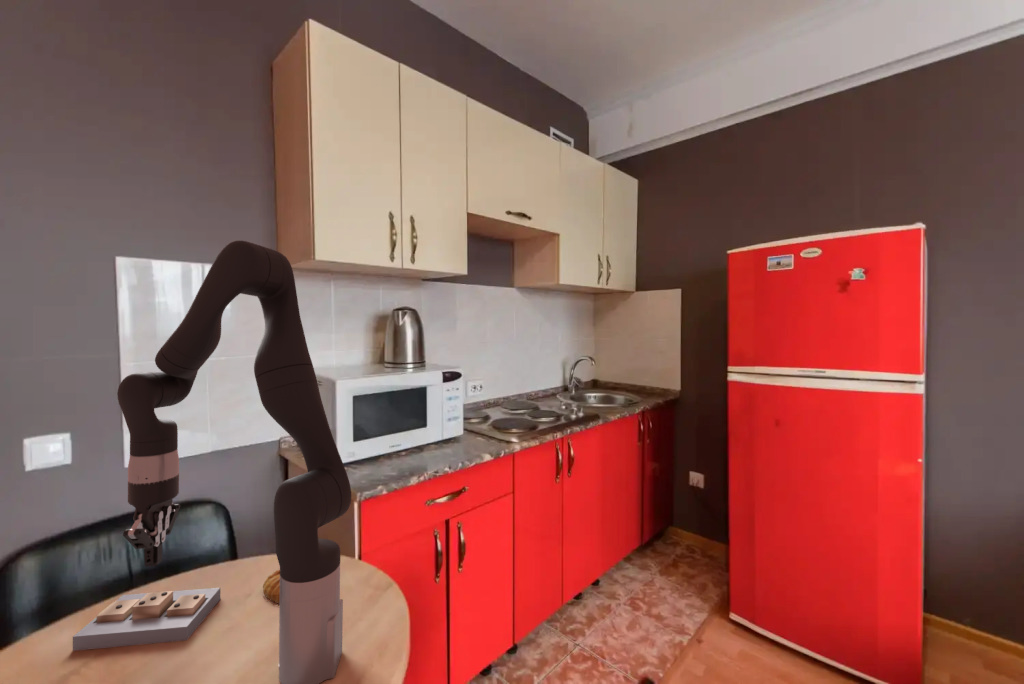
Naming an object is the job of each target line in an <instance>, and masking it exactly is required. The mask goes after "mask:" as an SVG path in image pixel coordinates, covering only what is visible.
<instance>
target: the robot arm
mask: <svg viewBox="0 0 1024 684" xmlns="http://www.w3.org/2000/svg"><path fill="white" fill-rule="evenodd" d="M290 262H291V261H289V259H288V258H287V257H286V256H285V254H283V253H281V252H280V251H278V250H275V249H272V248H269V247H266V246H262V245H260V244H257V243H253V242H250V241H247V240H235V241H231V242H230V243H228V244H226V245H225V246H224V247H223V248H222V250H220V251H219V253H218V254H217V256H216V257H215V259H214V261H213V263H212V264H211V266H210V267H209V270H208V272H207V274H206V276H205V278H204V279H203V281H202V282H201V285H200V287H199V289H198V291H197V293H196V295H195V297H194V300H193V301H192V303H191V305H190V307H189V309H188V310H187V312H186V314H185V316H184V318H183V319H182V320H181V322H180V323H179V325H178V326H177V327H176V329H175V330H174V331H173V333H172V334H171V335H170V336H169V337H168V338H167V340H166V341H165V343H164V344H163V345H162V346H161V347H160V348H159V350H158V352H157V353H156V355H155V356H154V357H155V358H154V362H155V365H156V367H157V368H158V369H159V370H158V371H147V372H135V373H131V374H128V375H126V377H124V378H123V379H122V381H120V383H119V385H118V388H117V391H116V393H117V394H116V396H117V400H118V405H119V407H120V410H121V412H122V415H123V417H124V421H125V424H126V427H127V428H128V432H129V459H128V466H127V503H128V505H130V506H132V507H134V509H135V511H134V514H133V522H134V523H133V524H132V525H131V528H127V529H125V530H124V531H123V533H122V537H124V538H125V540H127V541H128V543H130V544H131V546H132V547H133V548H134V549H135V550H139V549H142V550H143V551H144V554H143V555H144V561H143V562H144V566H145V567H155V566H158V565H159V564H160V563H161V562H162V561H163V543H164V542H165V541H166V536H169V535H170V534H171V532H172V531H173V528H174V525H175V522H176V520H177V517H178V515H179V511H180V508H181V503H173V502H174V501H173V500H174V499H175V498H176V497H177V496H178V495H179V494H180V493H179V491H180V457H179V456H180V455H179V452H178V451H179V450H178V448H179V447H178V445H179V443H178V441H179V440H178V439H179V438H178V436H179V433H178V430H179V429H178V423H176V421H175V420H172V419H168V418H166V419H165V418H164V419H163V418H158V416H157V415H156V412H155V409H158V408H165V407H171V406H175V405H178V404H179V403H181V402H183V401H184V400H185V399H186V398H187V397H188V395H189V394H190V393H191V391H192V387H193V386H194V384H195V380H196V378H197V375H198V371H199V370H201V369H200V368H201V367H203V365H204V364H205V363H206V361H208V360H209V358H210V357H211V356H212V354H213V353H214V352H215V351H216V349H217V348H218V346H219V343H220V340H221V336H222V318H223V314H224V311H225V310H226V308H227V306H229V304H230V303H231V302H232V301H233V300H234V299H235V298H236V297H238V296H239V295H240V294H241V295H247V296H253V297H257V299H258V301H259V303H260V306H261V309H262V310H261V311H262V315H263V319H264V331H263V335H262V339H261V341H260V344H259V347H258V349H257V352H256V356H255V359H254V363H253V364H254V365H253V372H254V379H255V382H256V386H257V391H258V395H259V397H260V401H261V404H262V406H263V408H264V409H265V410H266V412H267V413H268V415H270V417H271V418H272V419H273V420H274V421H275V422H276V424H278V425H279V426H280V427H281V428H282V429H283V430H285V432H286V433H287V434H288V435H289V436H290V437H291V438H292V439H293V440H294V441H295V443H296V444H297V446H298V447H299V449H300V451H301V454H302V457H303V460H304V462H305V467H306V470H307V472H305V473H302V474H299V475H296V476H293V477H290V478H288V479H286V480H284V481H282V482H281V483H280V484H279V486H278V487H277V490H276V492H275V495H274V501H273V521H274V522H273V525H274V542H275V543H274V546H275V554H276V559H277V562H278V565H279V570H280V604H278V605H279V609H278V610H279V618H278V619H279V621H278V623H279V627H278V631H279V632H278V679H279V682H280V684H320V683H322V682H324V681H326V680H329V679H334V678H335V677H336V673H337V669H338V666H339V663H340V661H341V656H342V653H343V621H344V620H343V619H344V617H343V614H344V613H343V612H344V610H343V609H344V605H343V604H344V602H343V601H344V600H343V599H341V547H340V545H339V544H338V543H337V542H336V541H334V540H332V539H328V538H327V539H326V538H319V531H318V530H319V528H321V527H323V526H325V525H327V524H328V523H330V522H334V521H335V520H336V519H339V518H340V517H342V516H344V515H345V514H346V513H347V512H348V510H349V509H350V506H351V503H352V489H351V483H350V479H349V476H348V473H347V470H346V468H345V465H344V463H343V460H342V458H341V455H340V452H339V450H338V447H337V444H336V442H335V439H334V437H333V433H332V431H331V427H330V424H329V422H328V418H327V414H326V410H325V407H324V405H323V404H324V403H323V400H322V396H321V392H320V388H319V383H318V379H317V376H316V372H315V368H314V365H313V362H312V361H313V360H312V359H311V355H310V351H309V347H308V344H307V343H308V342H307V341H306V340H307V339H306V335H305V330H304V327H303V323H302V319H301V313H300V308H299V301H298V292H297V287H296V280H295V275H294V270H293V268H292V264H291V263H290Z"/></svg>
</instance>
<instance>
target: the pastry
mask: <svg viewBox="0 0 1024 684" xmlns="http://www.w3.org/2000/svg"><path fill="white" fill-rule="evenodd" d="M262 590H263V591H262V593H263V595H264V596H265V598H266V599H268V600H269V599H270V601H272V602H274V603H276V604H278V605H280V569H279V570H278V569H277V570H275V571H273V573H272V574H271V575H269V576H268V577H267V578H266V579H265V580H264V583H263V585H262Z"/></svg>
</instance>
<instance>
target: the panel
mask: <svg viewBox="0 0 1024 684" xmlns="http://www.w3.org/2000/svg"><path fill="white" fill-rule="evenodd" d="M172 591H173V603H174V602H175V601H176V600H177V599H178V598H179V597H180V596H184V595H197V594H205V603H204V604H203V605H202V606H201V607H200V608H199V609H198V611H197V612H196V613H195V614H194V615H185V616H173V617H167V610H166V611H165V612H164V613H163V614H162V615H161V616H160V617H159V618H149V619H137V620H132V614H131V615H130V616H129V617H128V618H127V619H126V620H125V621H114V622H102V623H97V616H96V617H95V618H94V619H92V620H91V621H90V622H89V623H88V624H86V625H85V626H84V627H83V628H81V629H80V630H79V631H78V632H76V634H74V635H73V636H72V651H85V650H96V649H104V648H105V649H106V648H115V647H116V648H117V647H128V646H140V645H148V644H149V645H150V644H159V643H160V644H161V643H168V642H169V643H170V642H182V641H188V640H189V638H190V637H191V635H192V634H194V632H195V631H196V630H197V628H198V627H199V626H200V625H201V624H202V622H203V621H204V620H205V618H206V617H207V616H208V615H209V614H210V612H212V610H213V609H214V608H215V607H216V605H217V604H218V603H219V601H220V600H221V587H212V588H209V587H208V588H197V589H196V588H195V589H184V590H183V589H182V590H172ZM147 593H148V592H144V593H133V594H131V593H130V594H123V595H122V596H120V597H119V598H117V599H116V600H115V601H120V600H133V599H140V600H141V599H142V598H143V597H144V596H145V595H146V594H147Z"/></svg>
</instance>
